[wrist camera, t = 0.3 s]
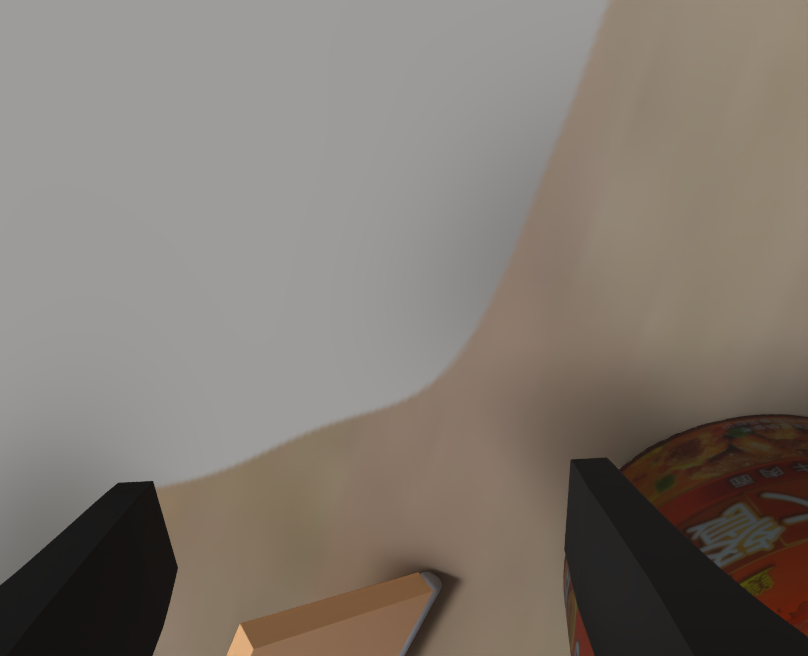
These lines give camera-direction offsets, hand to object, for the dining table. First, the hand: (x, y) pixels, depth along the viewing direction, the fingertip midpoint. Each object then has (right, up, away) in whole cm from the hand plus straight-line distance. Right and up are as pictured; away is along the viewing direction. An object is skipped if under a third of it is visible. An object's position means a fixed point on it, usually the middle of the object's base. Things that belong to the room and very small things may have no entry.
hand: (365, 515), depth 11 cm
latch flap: (-2, -8, +11) cm, 13 cm away
